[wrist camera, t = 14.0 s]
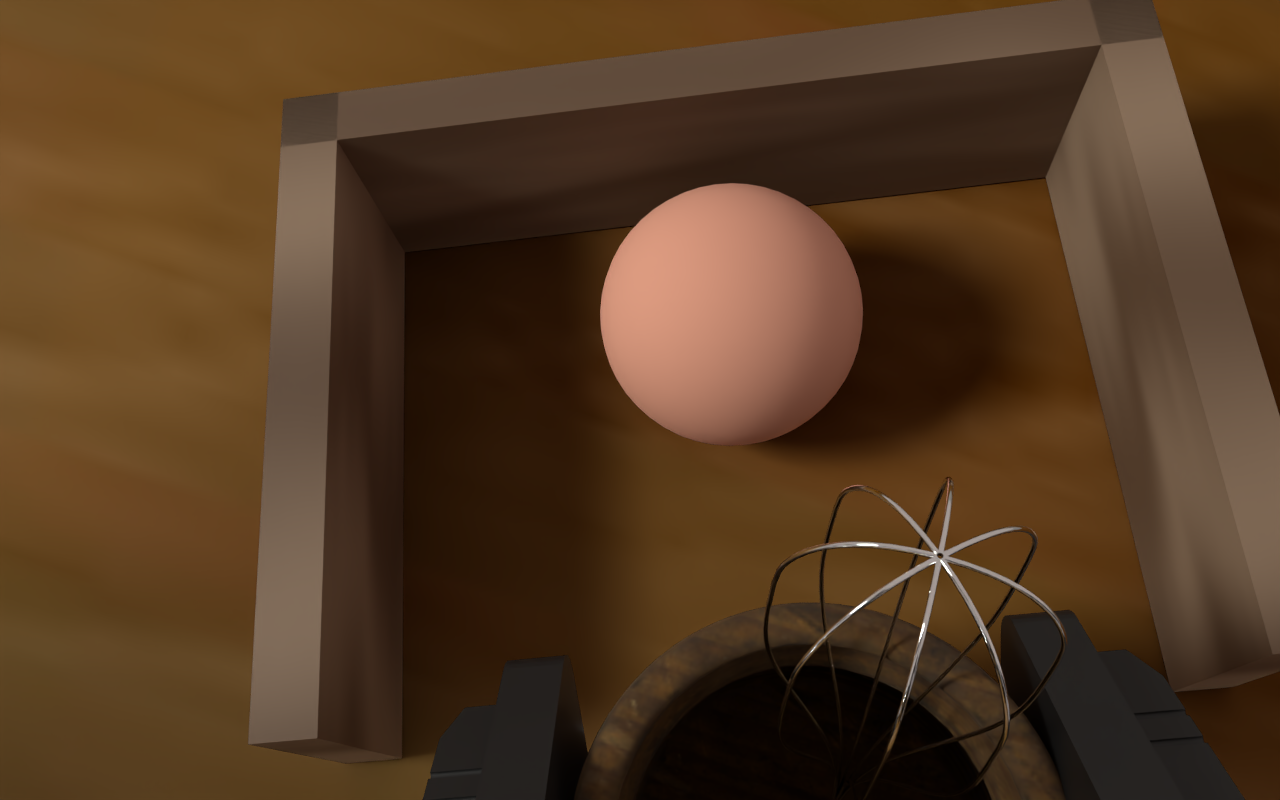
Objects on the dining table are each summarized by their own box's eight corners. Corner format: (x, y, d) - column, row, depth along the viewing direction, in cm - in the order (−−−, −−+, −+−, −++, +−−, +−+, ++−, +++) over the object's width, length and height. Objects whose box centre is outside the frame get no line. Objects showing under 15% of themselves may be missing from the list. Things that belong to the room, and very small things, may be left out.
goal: (1233, 686, 19) (1351, 647, 15) (345, 763, 20) (248, 744, 16) (1085, 129, 23) (1149, -11, 19) (358, 216, 24) (283, 99, 20)
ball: (752, 506, 21) (756, 488, 17) (567, 362, 22) (525, 308, 17) (897, 321, 21) (939, 254, 17) (710, 185, 22) (704, 87, 18)
